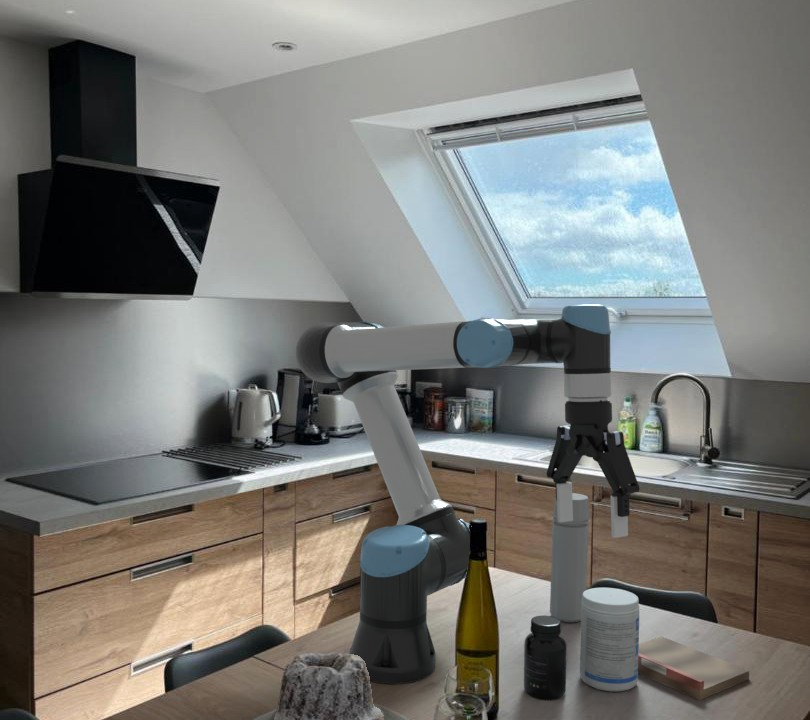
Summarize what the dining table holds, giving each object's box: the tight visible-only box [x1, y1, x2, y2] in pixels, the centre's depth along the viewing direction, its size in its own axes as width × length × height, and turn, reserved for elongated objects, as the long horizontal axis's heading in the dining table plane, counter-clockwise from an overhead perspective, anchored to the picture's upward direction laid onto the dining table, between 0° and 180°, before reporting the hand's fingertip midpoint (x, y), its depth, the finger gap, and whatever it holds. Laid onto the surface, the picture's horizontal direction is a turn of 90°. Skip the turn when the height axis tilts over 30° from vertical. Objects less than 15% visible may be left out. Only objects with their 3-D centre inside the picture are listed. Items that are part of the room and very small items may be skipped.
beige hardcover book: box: [638, 636, 750, 701], centre depth 146 cm, size 18×14×3 cm
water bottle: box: [549, 492, 591, 624], centre depth 171 cm, size 9×8×25 cm
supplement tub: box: [579, 587, 640, 692], centre depth 141 cm, size 10×10×15 cm
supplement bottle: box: [523, 614, 568, 701], centre depth 137 cm, size 7×7×12 cm
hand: (591, 528), depth 137 cm, fingers open, 13 cm apart
